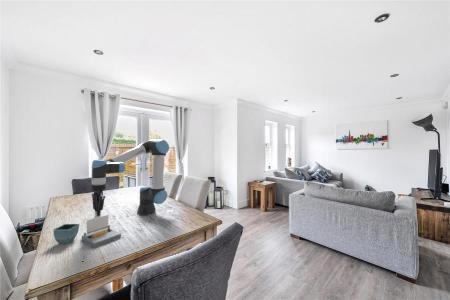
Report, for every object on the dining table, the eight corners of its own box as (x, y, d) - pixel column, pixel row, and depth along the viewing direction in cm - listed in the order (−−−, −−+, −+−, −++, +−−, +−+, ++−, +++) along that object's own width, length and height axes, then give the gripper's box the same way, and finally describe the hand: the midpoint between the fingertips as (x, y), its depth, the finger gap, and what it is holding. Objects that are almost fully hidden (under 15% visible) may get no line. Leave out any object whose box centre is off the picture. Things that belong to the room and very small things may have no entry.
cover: (87, 234, 111) (86, 233, 112) (108, 227, 121) (107, 227, 122) (87, 220, 111) (86, 219, 112) (108, 214, 122) (107, 214, 122)
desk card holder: (81, 239, 112) (81, 232, 112) (108, 231, 125) (108, 224, 125) (93, 247, 103) (94, 239, 103) (120, 237, 116) (121, 230, 116)
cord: (91, 234, 113) (93, 234, 111) (105, 229, 120) (107, 229, 118) (91, 239, 113) (93, 239, 111) (105, 234, 119) (107, 234, 118)
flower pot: (64, 238, 113) (64, 223, 113) (79, 238, 114) (79, 223, 114) (52, 245, 105) (52, 229, 105) (68, 245, 105) (69, 229, 105)
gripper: (87, 183, 117) (86, 220, 117) (96, 186, 110) (95, 225, 110) (100, 181, 124) (99, 216, 124) (110, 184, 117) (108, 221, 117)
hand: (97, 220), depth 117 cm, fingers closed
